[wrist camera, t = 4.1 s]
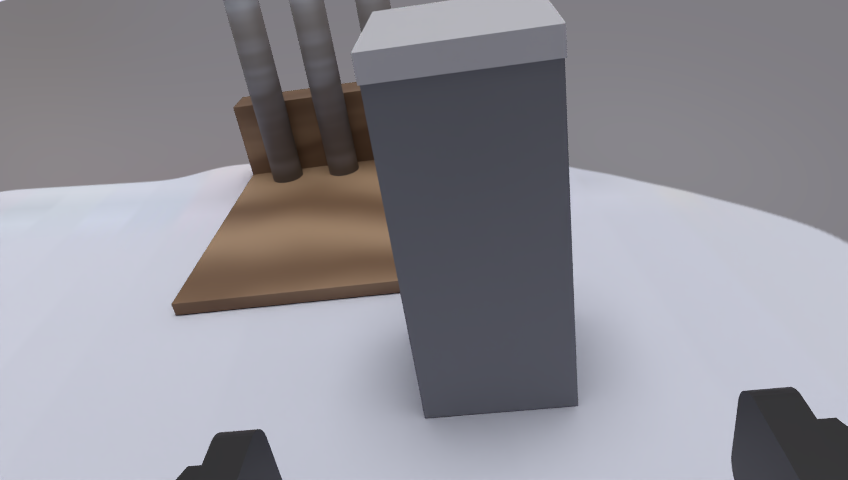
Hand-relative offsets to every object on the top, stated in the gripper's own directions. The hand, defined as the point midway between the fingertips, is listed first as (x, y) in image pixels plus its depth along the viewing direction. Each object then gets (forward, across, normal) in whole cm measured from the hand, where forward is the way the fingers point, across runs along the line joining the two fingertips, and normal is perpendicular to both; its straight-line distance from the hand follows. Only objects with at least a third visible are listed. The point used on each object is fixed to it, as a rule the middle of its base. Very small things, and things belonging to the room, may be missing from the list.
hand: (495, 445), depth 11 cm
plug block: (+10, 0, +7) cm, 12 cm away
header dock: (+22, +8, +7) cm, 25 cm away
